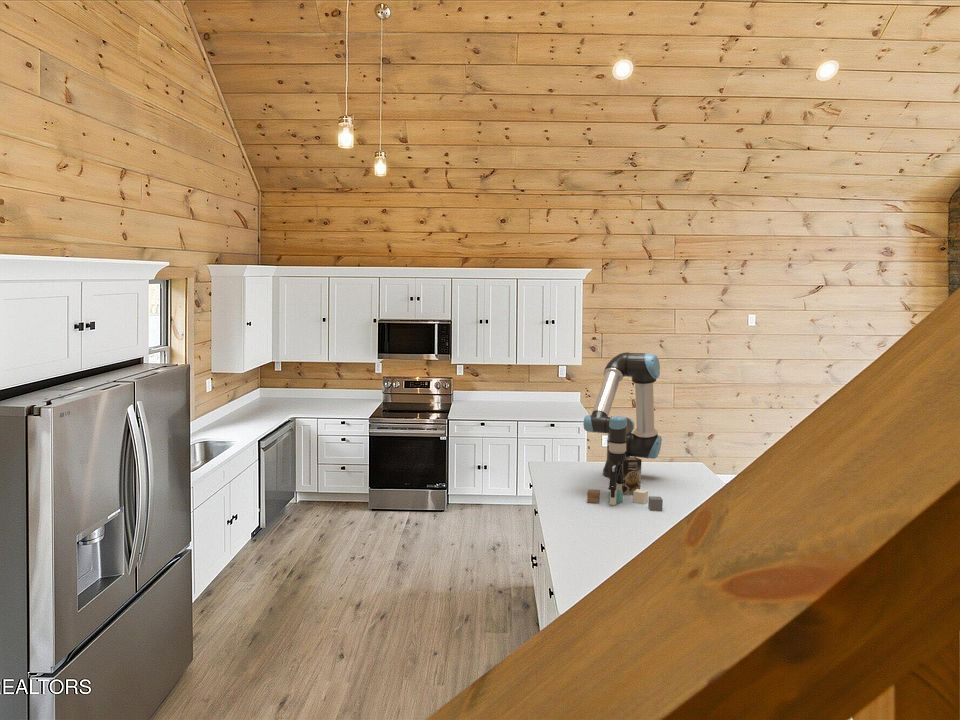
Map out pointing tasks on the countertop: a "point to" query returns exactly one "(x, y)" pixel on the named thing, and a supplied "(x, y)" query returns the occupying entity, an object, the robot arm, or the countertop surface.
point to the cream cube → (640, 496)
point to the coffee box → (631, 475)
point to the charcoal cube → (655, 503)
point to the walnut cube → (593, 496)
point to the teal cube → (618, 496)
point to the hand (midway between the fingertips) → (615, 501)
